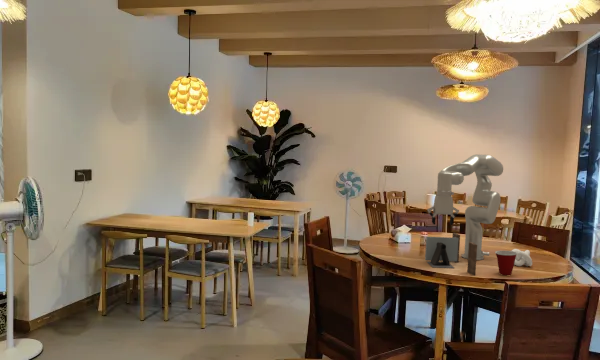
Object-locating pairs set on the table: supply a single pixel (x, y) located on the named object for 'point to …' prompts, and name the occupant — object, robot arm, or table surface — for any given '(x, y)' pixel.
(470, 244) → the frame
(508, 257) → the plastic cup
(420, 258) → the table surface
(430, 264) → the mat
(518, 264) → the white knot sculpture
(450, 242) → the grey flat panel
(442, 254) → the black a-shaped stand
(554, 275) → the table surface
